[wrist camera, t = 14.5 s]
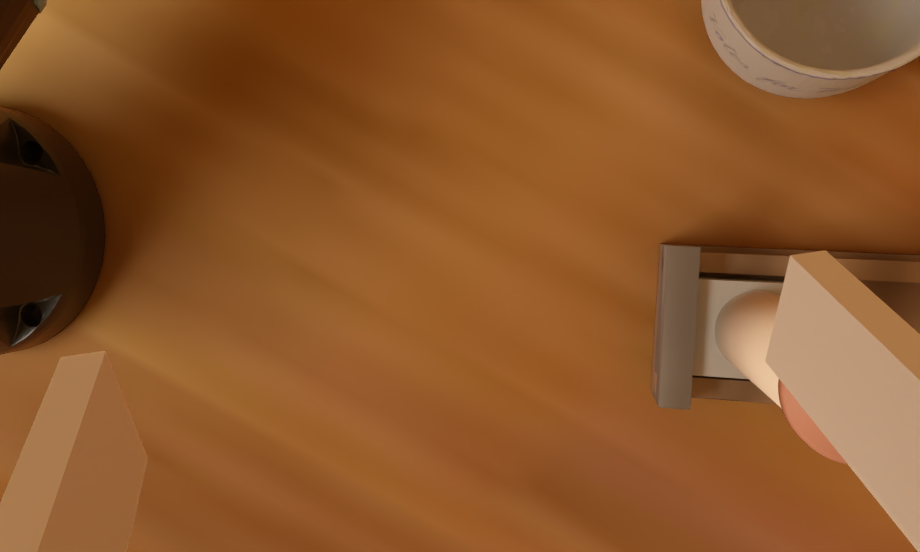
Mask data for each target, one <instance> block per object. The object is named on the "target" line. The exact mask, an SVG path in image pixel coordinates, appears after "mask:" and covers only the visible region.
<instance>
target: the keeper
mask: <svg viewBox="0 0 920 552" xmlns="http://www.w3.org/2000/svg"><path fill="white" fill-rule="evenodd" d="M783 283H784V281H775V280H755V279H734V278H714V277H699V281H698V296H697V312H696V328H695V343H694V359H693V374H692V375H695V376H710V377H724V378H739V379H749V380H750V381H751V382H752V383H754V384H755V385H756V386H757V387H758V388H759V389H760V390H762V391H763V392H764V393H765V394H766V395H767V396H768V397H769V398H771V399H772V400H773V401H774V402H775V403H776V404H777V405H778V406H780V407H781V408H782V411H783V413H784V416H785V418H786V420H787V421H788V423H789V425H790V426H791V427H792V429H793V430H794V431H795V432H796V434H797V435H799V436H800V437H801V438H802V439H803V440H804V441H805V442H806V443H807V444H808V445H809V446H810V447H811V448H813V449H814V450H815V451H817V452H818V453H820V454H821V455H823V456H825V457H827V458H829V459H831V460H834V461H836V462H840V463H843V464H847V463H846V461H845V460H844V459H843V458H842V456H841V455H840V454H839V453H838V451H837V450H836V449H835V448H834V446H833V445H832V444H831V443H830V441H829V440H828V439H827V438H826V436H825V435H824V434H823V433H822V432H821V430H820V429H819V428H818V427H817V425H816V424H815V423H814V422H813V420H812V419H811V418H810V417H809V415H808V414H807V413H806V412H805V410H804V409H803V408H802V407H801V405H800V404H799V403H798V402H797V400H796V399H795V398H794V397H793V395H792V394H791V393H790V392H789V390H788V389H787V388H786V387H785V385H784V384H783V383H782V382H781V381H780V379H779V378H778V377H777V376H776V374H775V373H774V372H773V371H772V369H771V368H770V367H769V366H768V364H767V363H766V362H765V360H766V355H767V351H768V347H769V343H770V338H771V334H772V330H773V326H774V321H775V317H776V313H777V309H778V304H779V300H780V296H781V292H782V287H783ZM847 465H848V464H847Z"/></svg>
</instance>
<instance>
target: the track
mask: <svg viewBox="0 0 920 552" xmlns="http://www.w3.org/2000/svg"><path fill="white" fill-rule="evenodd" d="M810 252H817V251H816V250H793V249H770V248H747V247H724V246H701V245H678V244H660V246H659V263H658V280H657V296H656V313H655V329H654V346H653V363H652V379H651V391H652V393H653V396H654V398H655V400H656V402H657V404H658V406H659V407H661V408H674V409H688V410H690V405H691V398H705V399H719V400H732V401H746V402H760V403H774V404H776V403H775V402H774V401H773V400H772V399H771V398H769V397H768V396H767V395H766V394H765V393H764V392H763V391H762V390H760V389H759V388H758V387H757V386H756V385H755V384H754V383H752V382H751V381H750V380H749V379H739V378H724V377H710V376H695V375H692V374H693V359H694V343H695V328H696V312H697V296H698V281H699V277H714V278H734V279H755V280H775V281H784V279H785V275H786V271H787V266H788V262H789V258H790V255H795V254H803V253H810ZM827 252H828V253H829V254H830V255H831V256H833V257H834V258H835V259H836V260H837V261H838V262H839V263H840V264H841V265H843V266H844V267H845V268H846V269H847V270H848V271H849V272H850V273H852V274H853V275H854V276H855V277H856V278H857V279H858V280H859V281H861V282H862V283H863V284H864V285H865V286H866V287H867V288H868V289H870V290H871V291H872V292H873V293H874V294H875V295H876V296H877V297H879V298H880V299H881V300H882V301H883V302H884V303H885V304H886V305H888V306H889V307H890V308H891V309H892V310H893V311H894V312H895V313H897V314H898V315H899V316H900V317H901V318H902V319H903V320H904V321H906V322H907V323H908V324H909V325H910V326H911V327H912V328H913V329H915V330H916V331H917V332H918V333H919V334H920V255H907V254H884V253H861V252H838V251H827Z"/></svg>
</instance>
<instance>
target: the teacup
mask: <svg viewBox="0 0 920 552" xmlns="http://www.w3.org/2000/svg"><path fill="white" fill-rule="evenodd" d="M701 4H702V14H703V19H704V23H705V27H706V31H707V33H708V36H709V38H710V41H711V43H712V45H713V47H714V49H715V50H716V52H717V53H718V55H719V56H720V58H721V59H722V60H723V61H724V63H725V64H726V65H727V66H728V67H729V68H730V69H731V70H732V71H733V72H734V73H735V74H737V75H738V76H739V77H740V78H742V79H743V80H745V81H746V82H748V83H749V84H751V85H753V86H755V87H757V88H759V89H761V90H764V91H767V92H770V93H773V94H776V95H780V96H785V97H791V98H807V99H810V98H821V97H828V96H832V95H837V94H841V93H844V92H847V91H850V90H853V89H856V88H858V87H861V86H863V85H865V84H867V83H869V82H871V81H873V80H875V79H877V78H879V77H881V76H883V75H884V74H886V73H888V72H890V71H893V70H895V69H897V68H899V67H901V66H903V65H906V64H907V63H909V62H911V61H913V60H915V59H916V58H918V57H920V0H701Z"/></svg>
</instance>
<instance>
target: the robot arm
mask: <svg viewBox="0 0 920 552" xmlns="http://www.w3.org/2000/svg"><path fill="white" fill-rule="evenodd" d="M46 2H47V0H0V69H1V68H2V66H3V65H4V63H5V62H6V60H7V59H8V57H9V56H10V54H11V53H12V51H13V50H14V49H15V47H16V46H17V44H18V43H19V41H20V40H21V38H22V37H23V35H24V34H25V32H26V31H27V29H28V28H29V26H30V25H31V23H32V22H33V20H34V19H35V18H36V16H37V15H38V13H41V12H42V10H43V9H44V7H45V6H46ZM104 238H105V233H104V218H103V212H102V207H101V202H100V198H99V195H98V192H97V189H96V186H95V184H94V181H93V179H92V177H91V175H90V173H89V171H88V169H87V167H86V165H85V164H84V162H83V161H82V159H81V157H80V156H79V155H78V153H77V152H76V151H75V149H74V148H73V147H72V146H71V145H70V144H69V143H68V142H67V141H66V140H65V139H64V138H63V137H62V136H61V135H60V134H59V133H58V132H57V131H55V130H54V129H53V128H51V127H50V126H49V125H47V124H46V123H44V122H42V121H41V120H39V119H37V118H35V117H33V116H31V115H28V114H26V113H23V112H20V111H17V110H13V109H8V108H4V107H0V355H1V354H5V353H10V352H14V351H19V350H23V349H27V348H30V347H33V346H36V345H38V344H40V343H42V342H44V341H46V340H48V339H50V338H51V337H53V336H55V335H56V334H57V333H59V332H60V331H61V330H63V329H64V328H65V327H66V326H67V325H68V324H69V323H70V322H71V321H72V320H73V319H74V318H75V317H76V316H77V314H78V313H79V312H80V311H81V309H82V308H83V306H84V305H85V303H86V302H87V300H88V298H89V297H90V295H91V293H92V291H93V288H94V286H95V284H96V281H97V278H98V275H99V272H100V268H101V264H102V259H103V252H104ZM765 362H766V363H767V364H768V366H769V367H770V368H771V369H772V371H773V372H774V373H775V374H776V376H777V377H778V378H779V379H780V381H781V382H782V383H783V384H784V385H785V387H786V388H787V389H788V390H789V392H790V393H791V394H792V395H793V397H794V398H795V399H796V400H797V402H798V403H799V404H800V405H801V407H802V408H803V409H804V410H805V412H806V413H807V414H808V415H809V417H810V418H811V419H812V420H813V422H814V423H815V424H816V425H817V427H818V428H819V429H820V430H821V432H822V433H823V434H824V435H825V436H826V438H827V439H828V440H829V441H830V443H831V444H832V445H833V446H834V448H835V449H836V450H837V451H838V453H839V454H840V455H841V456H842V458H843V459H844V460H845V461H846V463H847V464H848V465H849V466H850V468H851V469H852V470H853V471H854V473H855V474H856V475H857V476H858V478H859V479H860V480H861V481H862V483H863V484H864V485H865V486H866V488H867V489H868V490H869V491H870V492H871V494H872V495H873V496H874V497H875V499H876V500H877V501H878V502H879V504H880V505H881V506H882V507H883V509H884V510H885V511H886V512H887V514H888V515H889V516H890V517H891V519H892V520H893V521H894V522H895V524H896V525H897V526H898V527H899V529H900V530H901V531H902V532H903V534H904V535H905V536H906V537H907V539H908V540H909V541H910V542H911V543H912V545H913V546H914V547H915V548H916V550H917V551H918V552H920V334H919V333H918V332H917V331H916V330H915V329H913V328H912V327H911V326H910V325H909V324H908V323H907V322H906V321H904V320H903V319H902V318H901V317H900V316H899V315H898V314H897V313H895V312H894V311H893V310H892V309H891V308H890V307H889V306H888V305H886V304H885V303H884V302H883V301H882V300H881V299H880V298H879V297H877V296H876V295H875V294H874V293H873V292H872V291H871V290H870V289H868V288H867V287H866V286H865V285H864V284H863V283H862V282H861V281H859V280H858V279H857V278H856V277H855V276H854V275H853V274H852V273H850V272H849V271H848V270H847V269H846V268H845V267H844V266H843V265H841V264H840V263H839V262H838V261H837V260H836V259H835V258H834V257H833V256H831V255H830V254H829V253H828V252H827V251H826V250H824V251H817V252H810V253H803V254H795V255H790V258H789V262H788V266H787V271H786V275H785V279H784V283H783V287H782V292H781V296H780V300H779V304H778V309H777V313H776V317H775V321H774V326H773V330H772V334H771V338H770V343H769V347H768V351H767V355H766V360H765ZM147 461H148V457H147V455H146V452H145V450H144V447H143V444H142V442H141V439H140V437H139V434H138V432H137V429H136V427H135V424H134V422H133V419H132V416H131V414H130V411H129V409H128V406H127V404H126V401H125V399H124V396H123V393H122V391H121V388H120V386H119V383H118V381H117V378H116V376H115V373H114V371H113V368H112V365H111V363H110V360H109V358H108V355H107V353H106V351H100V352H93V353H86V354H79V355H72V356H65V357H61V358H60V360H59V362H58V365H57V367H56V370H55V372H54V374H53V377H52V379H51V382H50V384H49V386H48V389H47V391H46V394H45V396H44V399H43V401H42V403H41V406H40V408H39V411H38V413H37V415H36V418H35V420H34V423H33V425H32V427H31V430H30V432H29V435H28V437H27V440H26V442H25V444H24V447H23V449H22V452H21V454H20V456H19V459H18V461H17V464H16V466H15V468H14V471H13V473H12V476H11V478H10V481H9V483H8V485H7V488H6V490H5V493H4V495H3V497H2V500H1V502H0V552H127V550H128V546H129V541H130V537H131V532H132V528H133V523H134V519H135V514H136V510H137V505H138V501H139V496H140V492H141V487H142V483H143V479H144V474H145V470H146V465H147Z"/></svg>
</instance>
